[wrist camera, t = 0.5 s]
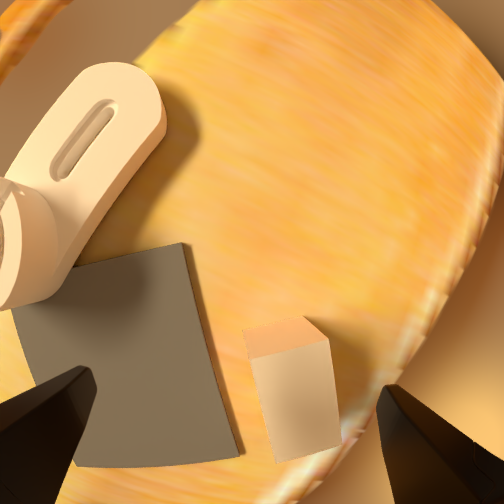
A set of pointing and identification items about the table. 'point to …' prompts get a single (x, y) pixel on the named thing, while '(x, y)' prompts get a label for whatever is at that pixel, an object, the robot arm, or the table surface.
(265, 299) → the table surface
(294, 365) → the card deck box
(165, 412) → the grey rubber mat
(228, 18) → the table surface
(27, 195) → the bracket
